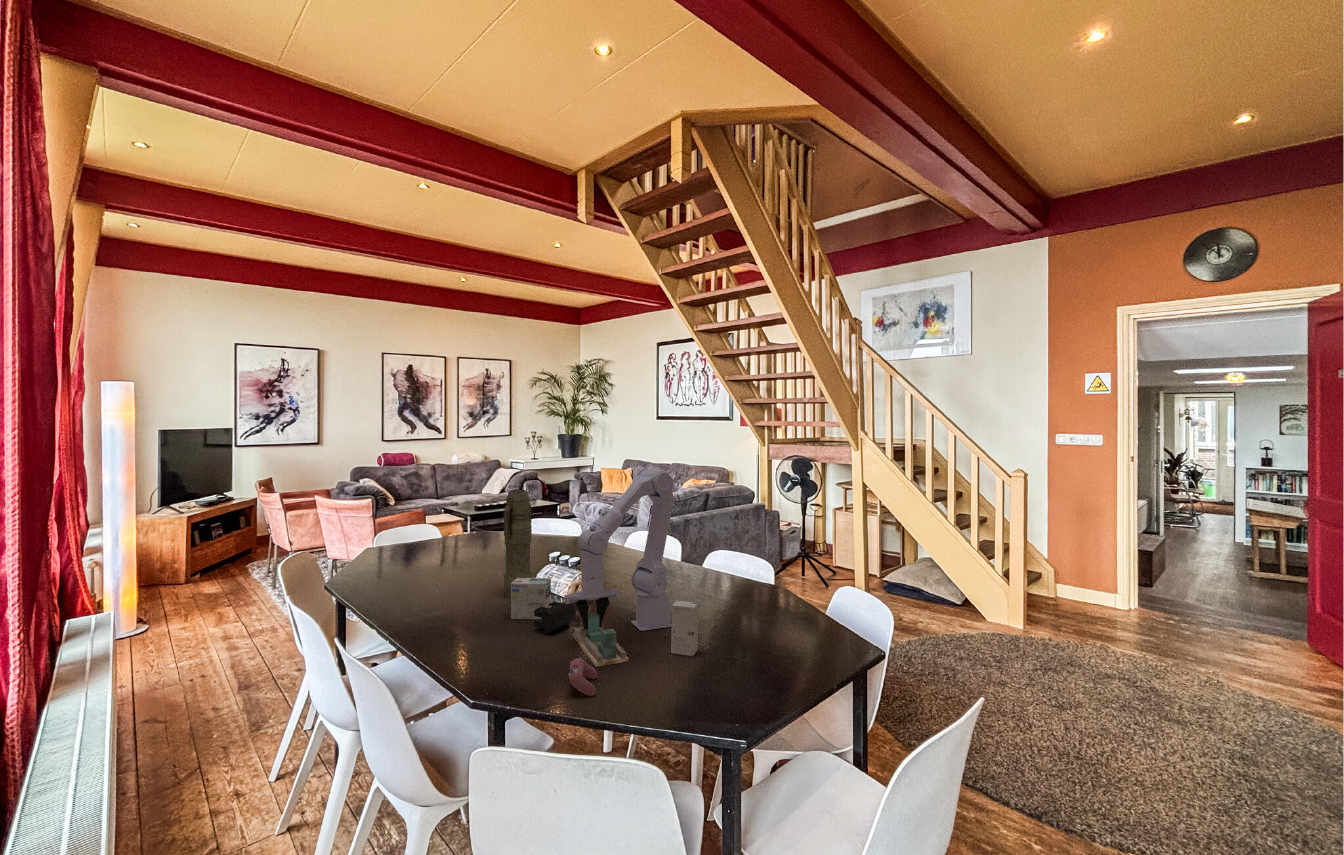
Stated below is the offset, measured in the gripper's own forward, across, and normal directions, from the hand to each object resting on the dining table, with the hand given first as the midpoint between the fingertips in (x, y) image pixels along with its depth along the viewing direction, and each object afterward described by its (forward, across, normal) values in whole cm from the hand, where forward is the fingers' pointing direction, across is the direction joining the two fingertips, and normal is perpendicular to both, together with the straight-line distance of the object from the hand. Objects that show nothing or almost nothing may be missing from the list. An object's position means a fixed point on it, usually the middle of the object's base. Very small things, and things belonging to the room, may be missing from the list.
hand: (592, 627), depth 157 cm
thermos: (+4, +11, -51) cm, 52 cm away
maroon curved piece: (+4, +10, +26) cm, 28 cm away
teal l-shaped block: (+3, 0, +1) cm, 3 cm away
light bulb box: (+4, +11, -27) cm, 29 cm away
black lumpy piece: (+4, +7, -13) cm, 15 cm away
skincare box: (+4, -19, +17) cm, 26 cm away
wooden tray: (+3, 0, +6) cm, 7 cm away
